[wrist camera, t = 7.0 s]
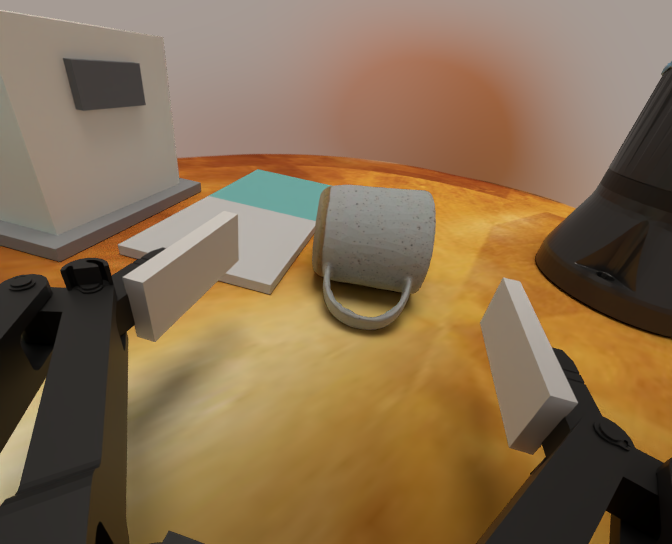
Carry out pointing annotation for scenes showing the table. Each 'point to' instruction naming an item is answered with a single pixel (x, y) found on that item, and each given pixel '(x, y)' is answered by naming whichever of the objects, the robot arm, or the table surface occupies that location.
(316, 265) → the ceramic mug
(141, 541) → the table surface
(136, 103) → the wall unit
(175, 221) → the mat
